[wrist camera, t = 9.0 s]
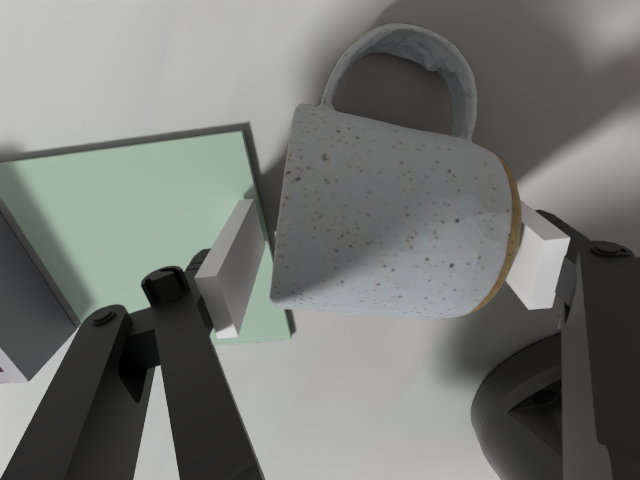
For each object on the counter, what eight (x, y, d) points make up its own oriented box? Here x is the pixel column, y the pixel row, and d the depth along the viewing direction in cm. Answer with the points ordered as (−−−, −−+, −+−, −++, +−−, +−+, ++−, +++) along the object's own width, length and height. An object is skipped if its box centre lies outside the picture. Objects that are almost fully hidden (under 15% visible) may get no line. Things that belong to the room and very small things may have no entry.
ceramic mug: (427, 262, 19) (484, 377, 12) (282, 242, 18) (254, 349, 12) (503, 45, 14) (674, 29, 7) (304, 12, 13) (279, -38, 6)
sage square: (243, 129, 15) (241, 131, 15) (291, 335, 22) (291, 339, 21) (-13, 163, 16) (-20, 166, 16) (104, 349, 23) (101, 354, 22)
